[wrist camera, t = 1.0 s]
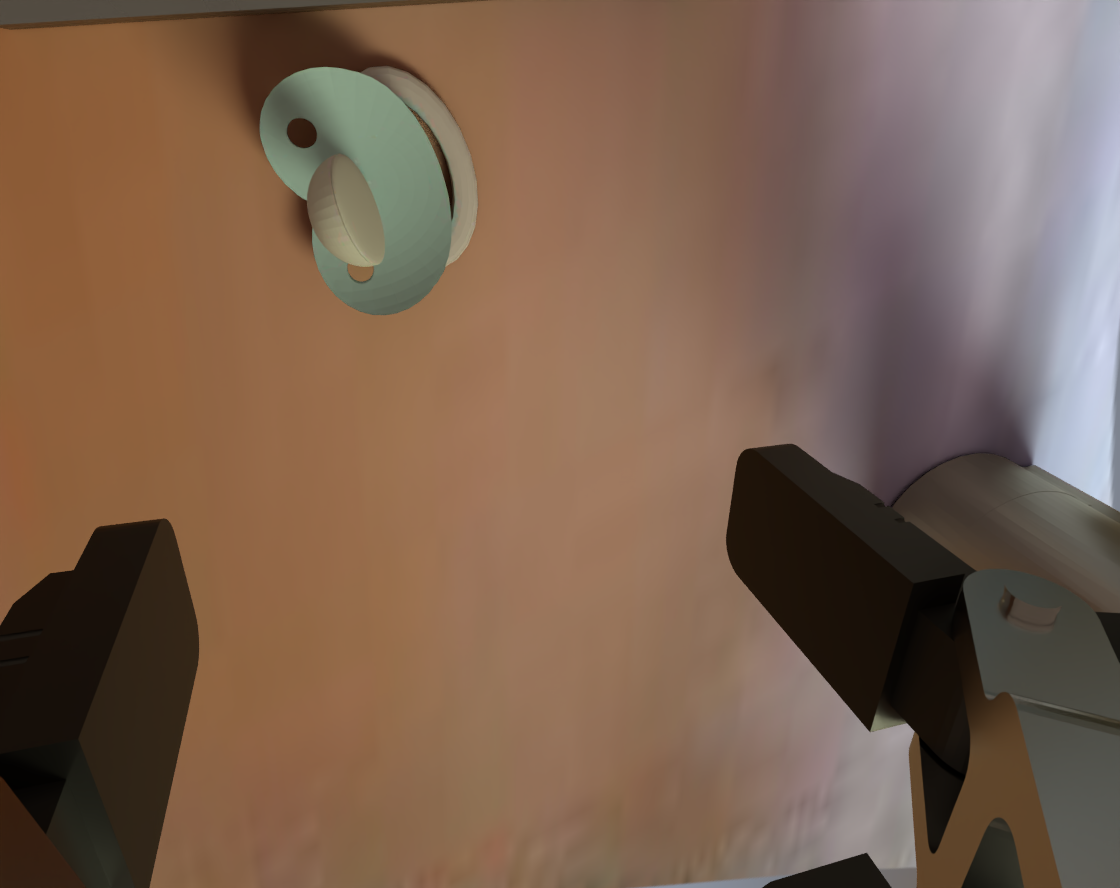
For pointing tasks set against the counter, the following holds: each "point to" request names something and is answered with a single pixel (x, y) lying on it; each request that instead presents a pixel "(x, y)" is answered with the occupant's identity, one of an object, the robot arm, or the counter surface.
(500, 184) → the counter surface
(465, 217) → the pacifier
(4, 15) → the grey ring holder
